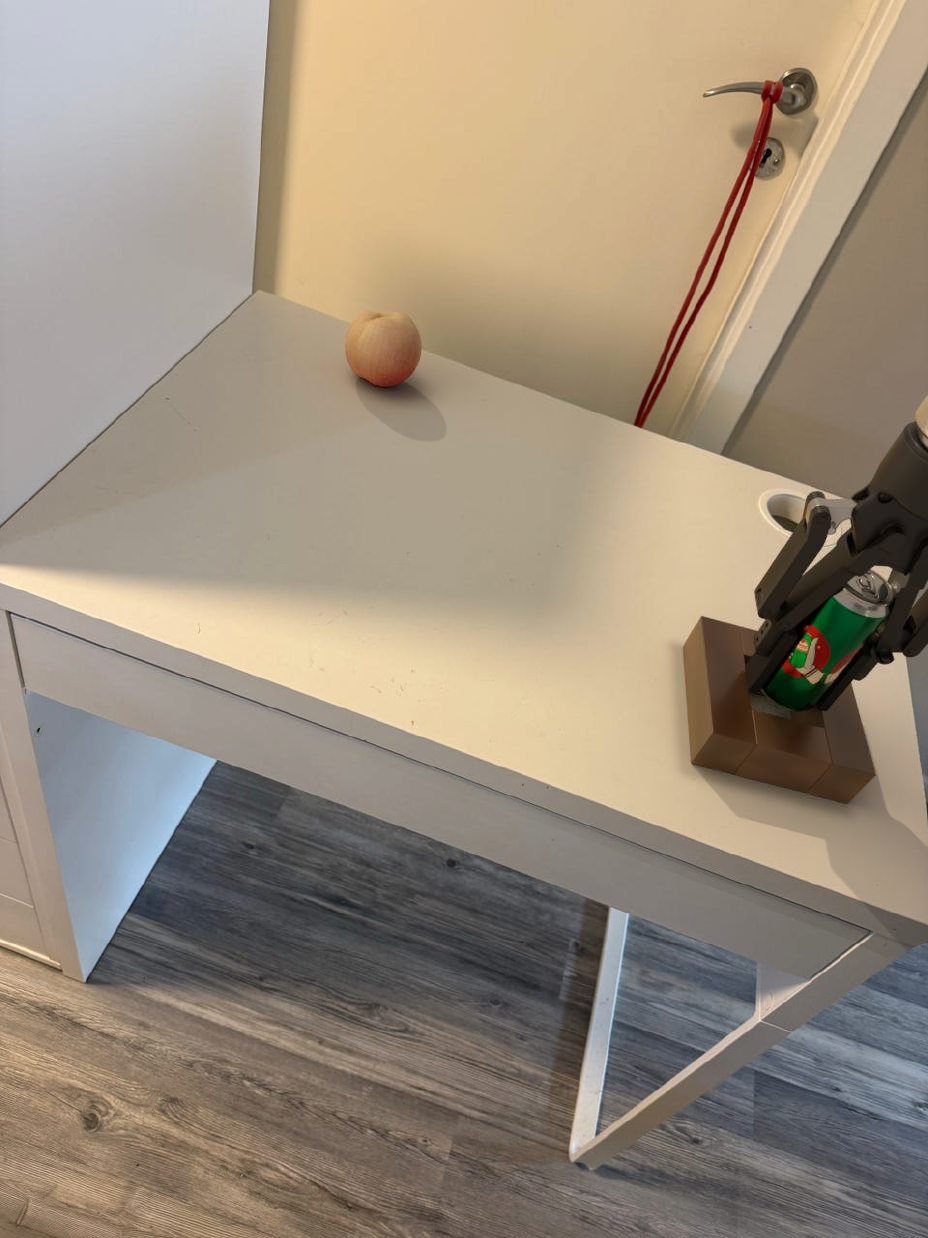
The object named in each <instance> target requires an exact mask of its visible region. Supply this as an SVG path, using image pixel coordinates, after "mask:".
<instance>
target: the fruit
mask: <svg viewBox="0 0 928 1238" xmlns="http://www.w3.org/2000/svg"><path fill="white" fill-rule="evenodd" d="M422 348H423V346H422V339H421V335H420V332H419V329H418V328H417V325H416V324H415V323H414V321H413V319H412V318H411V317H410V316H409V315H407V314H406V313H403V312H399V311H377V312H376V311H375V312H374V311H365V312H362V313H360V314H358V315H357V317H356V318H354V319H353V320H352V322H351V324H350V325H349V327H348V329H347V331H346V334H345V341H344V351H345V358H346V360H347V364H348V366H349V367H350V369H351V371H352V373H354V374H355V375H356V376H358V377H360V378H361V379H365V380H366V381H368V382H369V383H370V384H371V385H374V386H378V387H381V388H382V387H383V388H384V387H385V388H387V387H388V388H389V387H395V386H398V385H400V384H402V383H404V382H405V381H407V379H409V378H410V377H411V376H412V375H413V374H414V372H415V370H416V369H417V367H418V366H419V363H420V361H421V357H422Z"/></svg>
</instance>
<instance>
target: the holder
mask: <svg viewBox="0 0 928 1238" xmlns="http://www.w3.org/2000/svg"><path fill="white" fill-rule="evenodd" d="M757 632H758V629H753V628H749V627H746V626H742V625H737V624H734V623H730V622H726V621H723V620H718V619H715V618H711V617H707V616H703V615H700V617H699V618H698V620H697V622H696V624H695V626H694V628H692V630H691V632H690V634H689V635H688V637H687V638H686V640H685V642H684V644H683V646H682V651H683V652H682V653H683V667H684V668H683V670H684V682H685V695H686V709H687V711H686V712H687V723H688V725H687V726H688V736H689V751H690V752H689V753H690V763H691V764H692V765H696V766H701V767H704V768H708V769H712V770H715V771H720V772H723V773H727V774H731V775H735V776H738V777H743V778H746V779H750V780H755V781H759V782H762V783H765V784H769V785H774V786H777V787H781V788H786V789H788V790H793V791H797V792H801V793H805V794H809V795H813V796H817V797H820V798H823V799H824V798H825V799H827V800H828V799H829V800H832V801H836V802H840V803H844V804H850V802H852V800H853V799H854V798H856V796H857V795H858V794H859V793H860V792H861V791H863V789H864V788H865V787H866V786H867V785H868V784H869V783H870V782H872V780H873V779H874V778H875V777H876V776H877V774H876V770H875V766H874V763H873V758H872V754H871V752H870V748H869V744H868V740H867V736H866V733H865V729H864V725H863V720H862V717H861V714H860V710H859V706H858V702H857V698H856V694H855V691H854V687H853V684H852V682H851V683H850V684H849V686H848V687H847V688H846V689H845V690H844V692H843V693H842V694H841V695H840V696H839V697H838V699H837V700H836V701H835V702H834V703H833V705H832V706H831V707H830V708H829V709H828V711H823V710H819V709H818V708H817V704H816V705H815V706H814V707H813V708H812V709H810V710H806V711H790V713H791V718H792V719H790V718H786V717H783V716H779V715H775V714H772V713H767V712H764V711H760V710H756V709H752V702H751V695H750V693H753V694H756V695H760V696H764V697H766V696H765V694H764V693H763V692H762V690H761V689H760V691H759V692H758V693H754V692H750V691H748V685H747V678H746V671H745V666H746V664H747V663H748V661H749V660H750V658H751V657H752V655H753V654H754V652H755V647H754V636H755V634H756V633H757Z"/></svg>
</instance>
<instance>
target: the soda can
mask: <svg viewBox="0 0 928 1238" xmlns="http://www.w3.org/2000/svg"><path fill="white" fill-rule="evenodd" d="M887 581H888V579H886V578H885V577H884V576H882V575H881V574H880V573H878V572H877V571H875V570H873V568H871V569H870V570H869V571H868V572H866V573H865V574H864V575H862V576H860V577H859V576H855V577H853V578H852V579H851V580H850V581H849V582H847V583H846V584H845V585H844V586H843V587H841V588H840V589H839V590H838V591H837V592H835V593H834V594H833V595H832V596H831V597H829V598H828V599H827V600H826V601H825V602H823V603H822V604H821V605H820V606H819V607H817V608H816V609H815V610H814V611H813V612H811V613H810V614H809V615H808V616H807V617H806V618H804V619H803V620H802V621H801V622H800V623H798V624H797V625H796V631H797V635H798V638H797V640H796V641H795V642H794V644H793V645H792V647H791V648H790V649H789V651H788V652H787V653H786V655H785V656H784V658H783V659H782V660H781V662H780V663H779V664H778V666H777V667H776V669H775V670H774V671H773V673H772V674H771V675H770V677H769V678H768V680H767V681H766V682H765V684H764V685H763V686H762V688H761V690H762V692H763V693H764V694H765V696H764V697H766V698H767V699H768V700H769V701H770V702H772V703H773V704H774V705H776V706H778V707H779V708H781V709H784V710H787V711H790V712H791V711H806V710H810V709H812V708H813V707H814V706H815V705H816V704H817V703H818V702H819V700H820V699H821V698H822V697H823V695H824V694H825V693H826V692H827V691H828V689H829V688H830V687H831V686H832V684H833V683H834V682H835V681H836V680H837V678H838V677H839V676H840V675H841V673H842V672H843V671H844V670H845V668H846V667H847V666H848V665H849V664H850V662H851V661H852V660H853V659H854V657H855V656H856V655H857V654H858V653H859V651H860V650H861V649H862V648H863V646H864V645H865V644H866V643H867V641H868V640H869V639H870V638H871V637H872V635H873V634H874V633H875V632H876V630H877V629H878V628H879V627H880V626H881V624H882V623H883V622H884V621H885V619H886V618H887V617H888V616H889V614H890V612H891V603H892V602H893V600H894V595H893V592H892V589H891V586H890V584H889V583H888V582H887Z"/></svg>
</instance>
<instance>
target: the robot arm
mask: <svg viewBox="0 0 928 1238" xmlns="http://www.w3.org/2000/svg"><path fill="white" fill-rule="evenodd" d="M914 413H915V414H914V418H915V421H911V422H909V423H907V424H906V425H905V426H904V427H903V429H902V431H901V432H900V433H899V434H898V436H897V438H896V439H895V441H894V442H893V443H892V445H891V447H890V448H889V449H888V451H887V452H886V454H885V455H884V456H883V458H882V459H881V461H880V463H879V465H878V467H877V468H876V470H875V472H874V474H873V477H872V479H871V480H870V481H869V482H868V484H866V485H865V486H864V487H862V488H861V489H859V490H857V491H856V492H854V493H853V494H852V495H851V497H850V498H826V495H825V494H824V492H822V491H820V490H814V491H811V492H809V494H807V496H806V498H805V502H804V507H803V511H802V512H803V513H802V517H801V520H800V522H799V523H798V524H797V525H796V527H795V529H794V530H793V532H792V533H791V535H790V536H789V538H788V539H787V541H786V542H785V544H784V545H783V546H782V548H781V550H780V551H779V552H778V554H777V555H776V557H775V558H774V560H773V562H772V563H771V565H770V566H769V567H768V569H767V571H766V572H765V573H764V575H763V576H762V577H761V579H760V581H759V582H758V584H757V585H756V587H755V588H754V591H753V594H754V601H755V607H756V612H757V616H758V618H760V619H763V622H762V624H761V625H760V627H759V628H758V629H757V631H758V632H757V633H756V634H755V636H754V647H755V652H754V654H753V655H752V657H751V658H750V660H749V661H748V663H747V664H746V666H745V671H746V678H747V685H748V691H750V692H749V693H752V692H754V693H753V694H756V693H758V692H759V691H760V689H761V688H762V686H763V685H764V684H765V682H766V681H767V680H768V678H769V677H770V675H771V674H772V673H773V671H774V670H775V669H776V667H777V666H778V664H779V663H780V662H781V660H782V659H783V658H784V656H785V655H786V653H787V652H788V651H789V649H790V648H791V647H792V645H793V644H794V642H795V641H796V640H797V638H798V635H797V631H796V625H797V624H798V623H800V622H801V621H802V620H803V619H804V618H806V617H807V616H808V615H809V614H810V613H811V612H813V611H814V610H815V609H816V608H817V607H819V606H820V605H821V604H822V603H823V602H825V601H826V600H827V599H828V598H829V597H831V596H832V595H833V594H834V593H835V592H837V591H838V590H839V589H840V588H841V587H843V586H844V585H845V584H846V583H847V582H849V581H850V580H851V579H852V578H853V577H855V576H859V577H860V576H862V575H864V574H865V573H866V572H868V571H869V570H870V569H873V568H874V567H887V568H890V569H891V571H890V574H889V576H888V579H887V582H888V583H889V584H890V586H891V589H892V592H893V595H894V600H893V602H892V603H891V612H890V614H889V616H888V617H887V618H886V619H885V621H884V622H883V623H882V624H881V626H880V627H879V628H878V629H877V630H876V632H875V633H874V634H873V635H872V637H871V638H870V639H869V640H868V641H867V643H866V644H865V645H864V646H863V648H862V649H861V650H860V651H859V653H858V654H857V655H856V656H855V657H854V659H853V660H852V661H851V662H850V664H849V665H848V666H847V667H846V668H845V670H844V671H843V672H842V673H841V675H840V676H839V677H838V678H837V680H836V681H835V682H834V683H833V684H832V686H831V687H830V688H829V689H828V691H827V692H826V693H825V694H824V695H823V697H822V698H821V699H820V700H819V702H818V703H817V708H818V709H819V710H823V711H828V709H829V708H830V707H831V706H832V705H833V703H834V702H835V701H836V700H837V699H838V697H839V696H840V695H841V694H842V693H843V692H844V690H845V689H846V688H847V687H848V686H849V684H850V683H852V682H853V681H858V682H860V681H862V680H864V679H866V678H867V676H869V674H870V673H871V672H872V671H873V669H874V668H875V667H876V666H877V665H878V664H880V665H883V666H884V665H889V664H890V665H891V664H892V663H893V662H894V661H895V657H894V654H895V653H896V654H897V653H898V654H902V655H903V656H904V657H906V658H915V657H917V656H918V655H920V654H921V652H922V651H923V650H924V649H925V648H926V647H927V646H928V587H927V588H926V585H927V583H928V394H926V395H925V397H924V399H923V400H922V402H921V403H920V405H919V406H918V408H917V409H916V411H915V412H914ZM847 520H849V522H850V527H849V528H848V529H847V530H846V531H845V532H843V534H841V535H840V537H839V538H838V539H837V541H836V544H835V545H834V547H833V548H832V549H831V550H830V551H828V552H827V553H826V554H825V555H824V556H823V557H821V559H820V560H818V561H817V562H816V563H815V564H814V565H813V566H811V565H812V563H813V562H814V560H815V559H816V557H817V556H818V555H819V553H820V551H822V549H823V547H824V545H825V544H826V542H827V539H828V536H832V535H835V534H837V529H838V528H839V527H840V525H841V524H842V523H843V522H844V521H847ZM810 566H811V567H810ZM809 567H810V568H809ZM808 568H809V569H808ZM925 588H926V589H925ZM924 589H925V591H924V592H923V593H922V594H921V596H920V597H919V598H918V599H917V596H918V595H919V592H920V590H921V591H923V590H924ZM916 599H917V601H916Z"/></svg>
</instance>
